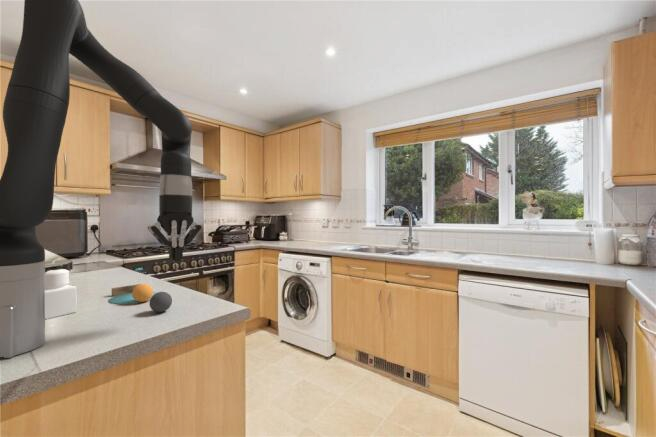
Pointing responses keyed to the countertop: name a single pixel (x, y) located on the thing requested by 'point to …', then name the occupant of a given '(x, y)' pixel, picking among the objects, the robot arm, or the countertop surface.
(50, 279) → the medicine bottle
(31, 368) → the countertop surface
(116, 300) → the teal mark
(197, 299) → the countertop surface
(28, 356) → the countertop surface
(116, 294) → the walnut stopper strip
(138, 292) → the orange ball
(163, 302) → the black ball
